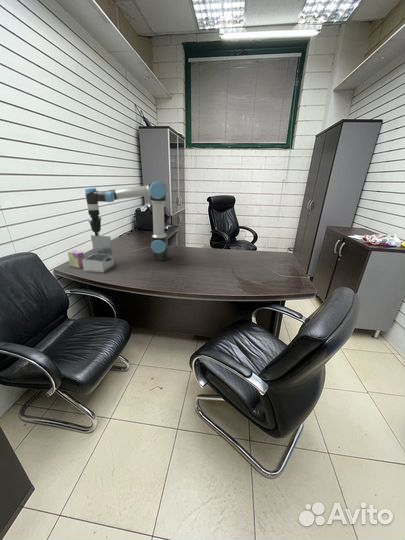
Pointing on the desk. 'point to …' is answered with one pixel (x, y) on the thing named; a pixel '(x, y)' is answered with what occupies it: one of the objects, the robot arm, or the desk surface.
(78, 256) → the box
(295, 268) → the desk surface
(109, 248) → the lid
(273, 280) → the desk surface
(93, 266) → the grey boxy piece
